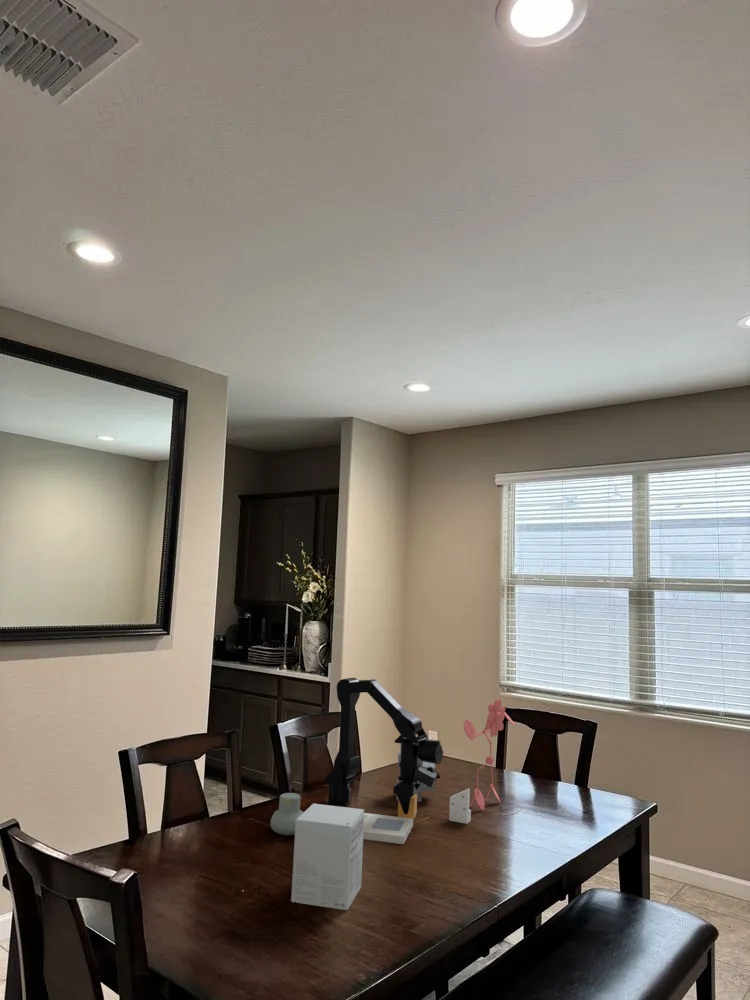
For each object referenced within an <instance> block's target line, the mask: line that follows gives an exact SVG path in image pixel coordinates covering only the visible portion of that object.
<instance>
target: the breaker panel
mask: <svg viewBox="0 0 750 1000" xmlns="http://www.w3.org/2000/svg"><path fill="white" fill-rule="evenodd" d="M413 827H414V819H412V818H404V817H398V816H395V815H393V816H392V815H385V814H376V813H367V812H364V829H363V840H368V841H374V842H375V841H376V842H383V843H384V842H385V843H392V844H398V845H399V844H400V845H405V843H406V840H407V838H408V836H409V834H410V833H411V830H412V828H413Z"/></svg>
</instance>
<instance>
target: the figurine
mask: <svg viewBox="0 0 750 1000" xmlns="http://www.w3.org/2000/svg"><path fill="white" fill-rule="evenodd" d="M488 712H489V714H488V715H487V717H486V719H487V720H486V723H485V727H484V729H483V730H481V731H480V732H479V733H477V734H476V728H475V726H474V724H473V722H471V721H470V720H468V718H467V719H465V721H464V722H463V731H464V732H465V735H466V736H467V737H468V738H469V739H470V740H471V741H473V740H474V739H475V738H476V737H478V736H479V735H481V734H484V735H485V737H486V738H487V741H488V742H489V755H488V756H486V757H485V759H484V760H485V764H483V765H482V766H480V767H479V768H477V769H476V779H477V780H476V781H477V782H476V784H477V785H476V786H477V788H475V790H474V792H473V795H474V797H473V799H472V801H470V803H469V808H471V807H472V806H473V804H474V801H475V802H476V804H477V806H478V807H479V809H480V811H482V812H483V811H484V810H485V802H486V801H487V800H488V798H489V796H490V794H491V791H492V792H493V794H494V796H495V798H496V800H497V801H498V802H499V803H500V804H501V803H502V802H501V800H500V797H499V795H498V793H497V791H496V790H495V786H494V775H493V773H494V771H493V764H494V762H495V761H494V758H493V757H492V741H491V739H490V737H491V738H493V737H497V736H498V734H499V731H500V732H501V731H503V730H504V719H505V718H506V719H507V720H508V722H510V724H512V725H513V726H514V727H516V724H515V722H514V721H513V720H512V718H511V717H510V716H509V715H508V714H507V712H506V705H503V706H502V700H501V698H498V699H495V701H494V704H493V703H489V705H488ZM487 733H490V737H489V736H488V735H487ZM486 765H488V766H489V765H491V767H490V768H491V769H490V770H491V783H490V784H489V786H490V789H489V790H488V792H487V794H486V796H485V798H484V795H483V793H482V792H481V790H480V789H479V770H481V769H482V768H483V767H485V766H486ZM518 807H519V809H520V806H518ZM519 812H520V810H518V811H517V812H514V813H512V814H510V816H512V815H513V816H514V815H515V814H517V815H518V814H519ZM503 816H504V817H507V816H509V814H507V815H506V814H505V815H503Z"/></svg>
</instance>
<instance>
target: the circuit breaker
mask: <svg viewBox="0 0 750 1000" xmlns="http://www.w3.org/2000/svg"><path fill="white" fill-rule="evenodd" d="M400 751H401V748H399V749H398V753H397V768H399V769H400V767H399V762H400ZM418 761H419V763H420V767H421V768H425V769H427V768H428V767H429V766H431V767H433V768H434V774H435V773H436V778H435V781H434V783H433V785H432V787H428V786H427V785H425V784H423V783H421V782H419V781H418V782H417V784H420V786H419V788H417V789H416V790H415V792H416V793H415V794H417V803H418V802H419V803H422V793H423V792H422V791H433V792H434V791H436V781H437V779H441V774H440V772H437V769H436V764H434V763H428V762H423V761H421V760H420V759H418ZM398 781H399V780H398V779H397V780H396V783H397V782H398ZM401 782H402V781H401ZM396 801H397V802H398V801H399V799H398V797H397V796H396Z"/></svg>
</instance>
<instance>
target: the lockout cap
mask: <svg viewBox="0 0 750 1000" xmlns="http://www.w3.org/2000/svg"><path fill="white" fill-rule="evenodd" d="M397 802H398V803H397V804H398V805H397V817H404V818H412V819H413V820H414V819H415V818H416V815H417V814H418V813H417V811H418V808H417V806H418V802H417V794H415V795H414V796H412V797H411V800H410V805H409V810H408V814H404V812H403V809H402V807H401V804H400V801H399V800H398V801H397Z"/></svg>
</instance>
